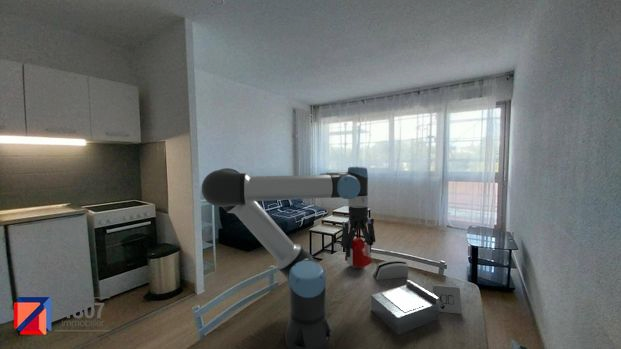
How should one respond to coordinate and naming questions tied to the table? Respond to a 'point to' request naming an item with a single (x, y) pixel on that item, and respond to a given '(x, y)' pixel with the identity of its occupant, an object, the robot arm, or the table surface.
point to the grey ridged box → (405, 307)
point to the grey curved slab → (391, 269)
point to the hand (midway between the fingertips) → (358, 261)
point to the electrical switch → (448, 298)
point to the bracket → (359, 253)
